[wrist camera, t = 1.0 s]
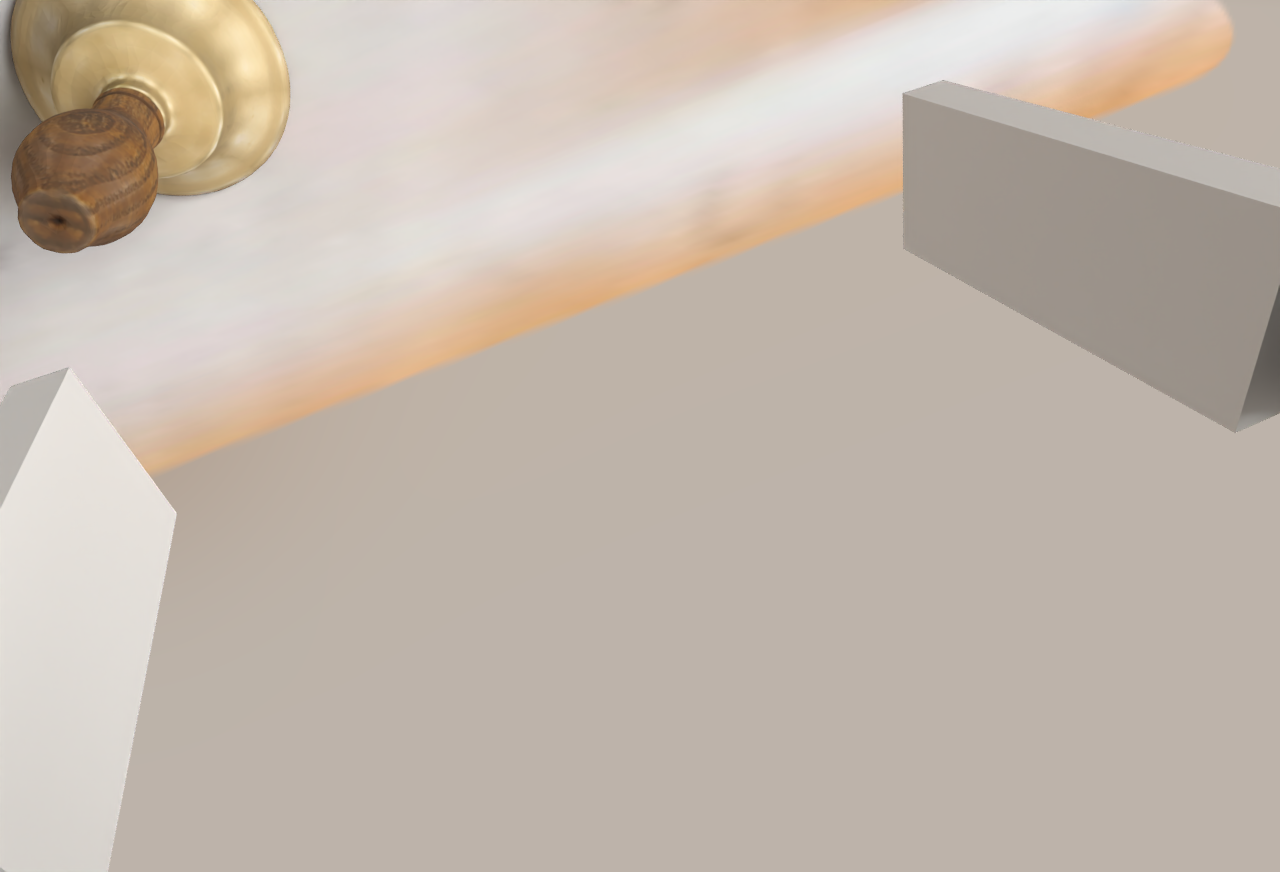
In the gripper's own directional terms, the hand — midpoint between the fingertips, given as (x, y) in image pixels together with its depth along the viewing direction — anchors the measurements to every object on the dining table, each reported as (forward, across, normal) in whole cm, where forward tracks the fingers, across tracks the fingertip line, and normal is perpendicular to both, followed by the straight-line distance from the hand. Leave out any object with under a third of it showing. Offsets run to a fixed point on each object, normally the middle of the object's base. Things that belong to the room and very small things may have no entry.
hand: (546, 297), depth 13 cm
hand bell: (+23, -8, +2) cm, 24 cm away
